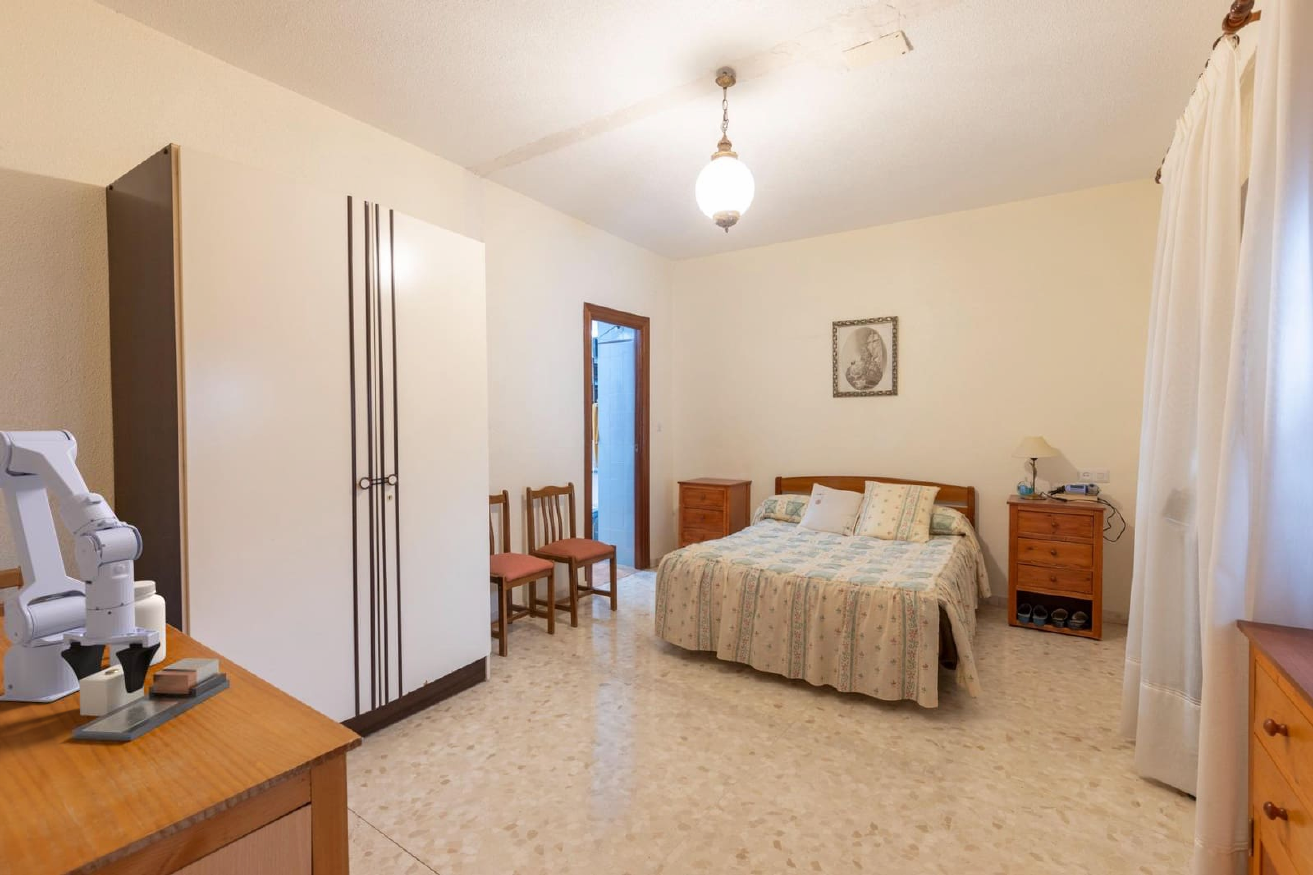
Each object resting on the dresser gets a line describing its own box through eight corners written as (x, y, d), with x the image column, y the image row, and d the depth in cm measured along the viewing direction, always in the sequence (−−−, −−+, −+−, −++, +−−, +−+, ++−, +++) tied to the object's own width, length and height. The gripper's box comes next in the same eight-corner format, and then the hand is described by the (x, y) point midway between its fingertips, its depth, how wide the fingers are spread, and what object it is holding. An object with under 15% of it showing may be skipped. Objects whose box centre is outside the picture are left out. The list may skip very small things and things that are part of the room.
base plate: (72, 738, 85) (72, 721, 85) (180, 684, 102) (180, 671, 102) (131, 741, 84) (130, 724, 84) (229, 686, 102) (229, 672, 102)
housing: (80, 715, 92) (79, 678, 92) (118, 697, 98) (117, 663, 98) (107, 716, 92) (106, 679, 91) (143, 698, 98) (143, 664, 97)
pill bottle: (119, 676, 106) (117, 592, 106) (103, 666, 110) (101, 585, 110) (173, 660, 113) (171, 582, 113) (156, 652, 117) (154, 576, 117)
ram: (153, 694, 96) (153, 672, 96) (186, 678, 102) (185, 658, 102) (188, 695, 95) (187, 673, 95) (219, 679, 101) (218, 659, 101)
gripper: (40, 611, 91) (43, 700, 91) (128, 613, 90) (130, 702, 90) (88, 598, 98) (90, 680, 98) (170, 599, 97) (172, 682, 97)
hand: (112, 689), depth 95 cm, fingers open, 7 cm apart
